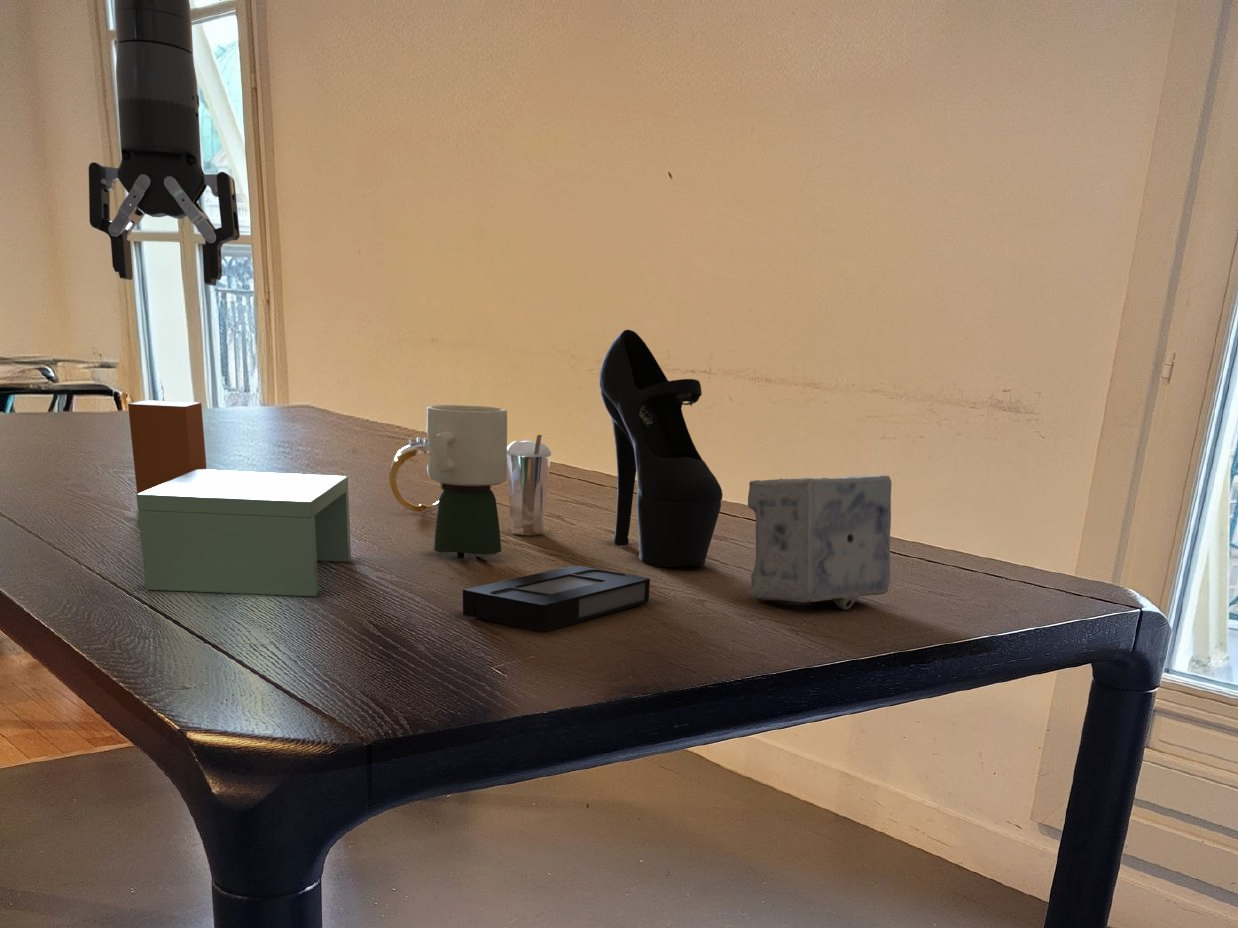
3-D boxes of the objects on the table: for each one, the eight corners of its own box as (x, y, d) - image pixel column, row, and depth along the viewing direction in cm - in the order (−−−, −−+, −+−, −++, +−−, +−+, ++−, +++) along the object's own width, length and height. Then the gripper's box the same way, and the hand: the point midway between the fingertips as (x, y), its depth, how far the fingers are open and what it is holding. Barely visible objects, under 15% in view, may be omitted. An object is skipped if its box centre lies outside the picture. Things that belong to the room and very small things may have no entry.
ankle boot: (136, 519, 128) (124, 403, 123) (154, 511, 133) (143, 399, 129) (258, 525, 128) (250, 409, 124) (271, 516, 134) (264, 405, 129)
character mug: (459, 543, 124) (458, 402, 119) (526, 551, 122) (528, 407, 117) (404, 561, 114) (400, 408, 109) (476, 569, 112) (476, 414, 107)
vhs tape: (650, 603, 103) (651, 578, 102) (542, 633, 92) (543, 605, 91) (574, 589, 107) (575, 565, 106) (462, 616, 96) (462, 589, 95)
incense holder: (819, 587, 113) (832, 465, 109) (890, 606, 107) (906, 477, 103) (736, 596, 107) (746, 468, 103) (805, 617, 101) (819, 481, 97)
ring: (454, 512, 142) (453, 437, 139) (455, 517, 139) (455, 440, 136) (390, 511, 141) (388, 435, 138) (390, 515, 138) (388, 438, 135)
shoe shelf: (145, 589, 99) (135, 494, 96) (203, 553, 113) (196, 469, 111) (315, 596, 99) (311, 501, 97) (351, 559, 114) (347, 476, 111)
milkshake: (516, 538, 128) (517, 434, 124) (499, 529, 133) (499, 429, 129) (558, 537, 130) (561, 434, 126) (540, 529, 134) (542, 429, 131)
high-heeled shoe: (680, 578, 113) (694, 335, 106) (574, 542, 128) (580, 327, 120) (751, 572, 118) (770, 338, 110) (641, 538, 132) (651, 330, 124)
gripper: (70, 89, 122) (84, 273, 127) (221, 100, 123) (229, 283, 128) (98, 106, 129) (110, 280, 135) (241, 117, 130) (247, 289, 135)
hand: (168, 282), depth 131 cm, fingers open, 8 cm apart
